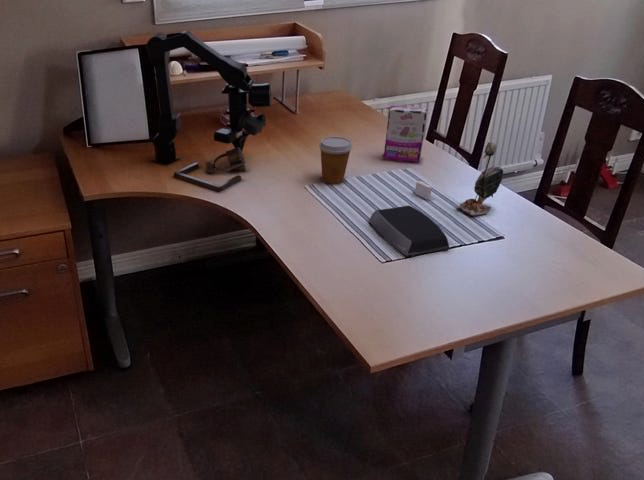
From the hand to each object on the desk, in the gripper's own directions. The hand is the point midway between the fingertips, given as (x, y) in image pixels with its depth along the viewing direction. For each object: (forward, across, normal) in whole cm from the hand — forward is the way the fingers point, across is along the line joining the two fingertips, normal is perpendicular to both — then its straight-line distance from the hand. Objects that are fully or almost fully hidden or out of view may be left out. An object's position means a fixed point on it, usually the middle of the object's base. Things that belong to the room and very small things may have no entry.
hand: (239, 154), depth 202 cm
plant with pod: (+5, +11, -72) cm, 73 cm away
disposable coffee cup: (+4, +6, -31) cm, 31 cm away
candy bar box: (+5, +33, -40) cm, 52 cm away
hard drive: (+4, -14, -63) cm, 65 cm away
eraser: (+5, +10, -57) cm, 58 cm away
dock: (+2, -16, +1) cm, 16 cm away
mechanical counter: (+3, -7, 0) cm, 7 cm away
